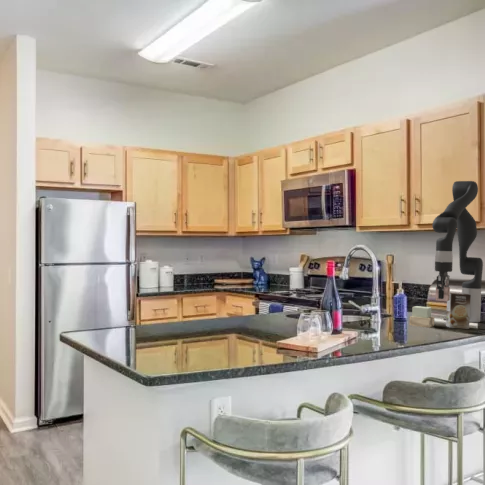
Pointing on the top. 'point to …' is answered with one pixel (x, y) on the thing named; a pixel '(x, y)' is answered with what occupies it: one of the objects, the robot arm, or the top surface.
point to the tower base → (422, 321)
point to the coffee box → (458, 311)
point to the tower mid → (421, 312)
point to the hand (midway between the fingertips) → (442, 298)
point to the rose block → (446, 294)
